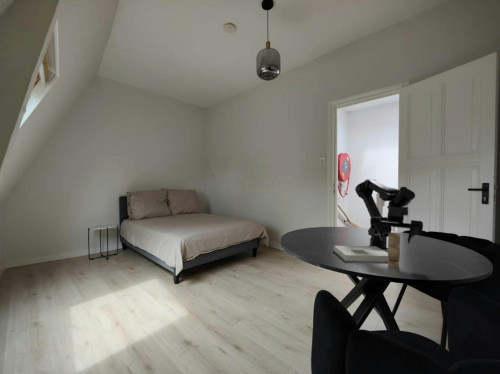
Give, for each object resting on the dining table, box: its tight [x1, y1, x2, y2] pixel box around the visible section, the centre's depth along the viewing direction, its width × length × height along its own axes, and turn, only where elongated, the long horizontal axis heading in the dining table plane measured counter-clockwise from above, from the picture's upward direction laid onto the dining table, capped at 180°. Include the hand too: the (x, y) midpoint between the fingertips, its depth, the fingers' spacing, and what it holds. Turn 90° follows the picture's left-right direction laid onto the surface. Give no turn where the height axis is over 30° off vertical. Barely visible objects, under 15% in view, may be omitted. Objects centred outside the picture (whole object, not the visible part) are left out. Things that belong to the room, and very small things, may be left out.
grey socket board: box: [333, 245, 388, 263], centre depth 104 cm, size 20×14×2 cm
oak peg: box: [387, 232, 401, 269], centre depth 92 cm, size 4×4×13 cm
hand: (394, 241), depth 93 cm, fingers open, 9 cm apart
